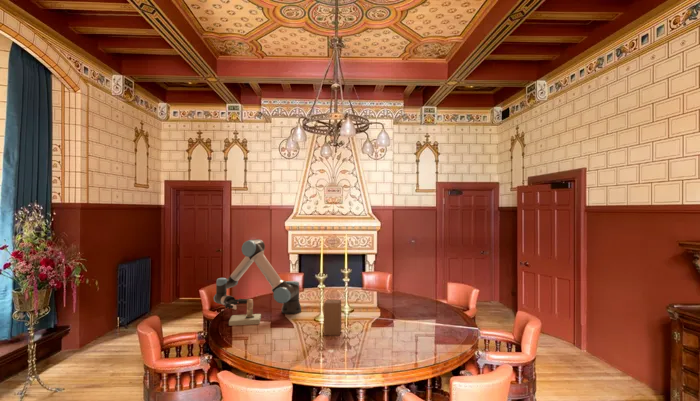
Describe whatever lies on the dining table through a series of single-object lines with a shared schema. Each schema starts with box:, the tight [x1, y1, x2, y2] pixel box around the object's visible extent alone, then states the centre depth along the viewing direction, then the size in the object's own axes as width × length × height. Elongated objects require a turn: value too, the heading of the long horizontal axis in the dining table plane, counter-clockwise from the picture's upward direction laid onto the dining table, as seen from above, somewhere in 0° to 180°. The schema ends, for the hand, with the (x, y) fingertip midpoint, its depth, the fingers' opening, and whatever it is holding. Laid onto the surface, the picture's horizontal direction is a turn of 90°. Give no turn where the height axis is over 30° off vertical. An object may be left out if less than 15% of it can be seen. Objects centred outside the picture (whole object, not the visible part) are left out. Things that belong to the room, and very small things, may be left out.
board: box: [228, 313, 262, 327], centre depth 246 cm, size 20×14×3 cm
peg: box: [246, 298, 254, 318], centre depth 246 cm, size 4×4×15 cm
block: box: [323, 298, 342, 337], centre depth 222 cm, size 10×10×20 cm
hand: (244, 305), depth 250 cm, fingers open, 13 cm apart
